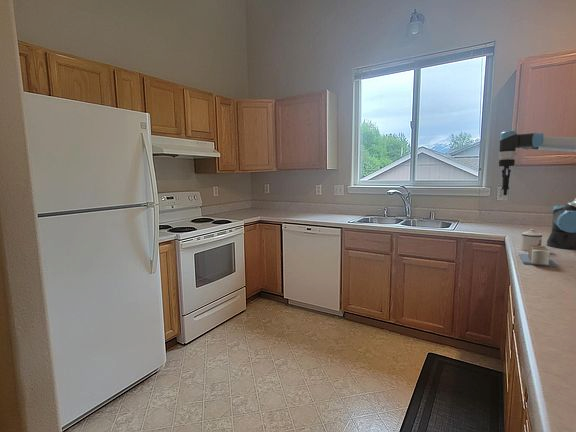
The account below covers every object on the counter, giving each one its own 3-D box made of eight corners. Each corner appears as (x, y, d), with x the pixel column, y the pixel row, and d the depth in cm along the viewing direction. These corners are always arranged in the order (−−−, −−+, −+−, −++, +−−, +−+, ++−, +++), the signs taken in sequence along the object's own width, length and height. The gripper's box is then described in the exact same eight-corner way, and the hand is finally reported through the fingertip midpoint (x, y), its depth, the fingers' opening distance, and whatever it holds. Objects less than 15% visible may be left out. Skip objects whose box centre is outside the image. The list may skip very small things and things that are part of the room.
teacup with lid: (541, 252, 170) (543, 231, 168) (520, 250, 175) (521, 229, 174) (540, 248, 179) (542, 227, 178) (520, 246, 185) (522, 226, 183)
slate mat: (548, 257, 159) (548, 255, 159) (556, 266, 144) (556, 264, 144) (518, 255, 165) (519, 253, 165) (523, 263, 150) (523, 261, 150)
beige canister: (544, 246, 154) (549, 251, 143) (543, 258, 155) (548, 264, 144) (528, 245, 157) (532, 250, 146) (528, 256, 158) (532, 263, 147)
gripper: (516, 158, 175) (513, 201, 177) (513, 159, 186) (511, 200, 189) (499, 159, 178) (497, 201, 181) (498, 160, 190) (496, 199, 192)
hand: (504, 200), depth 185 cm, fingers closed
